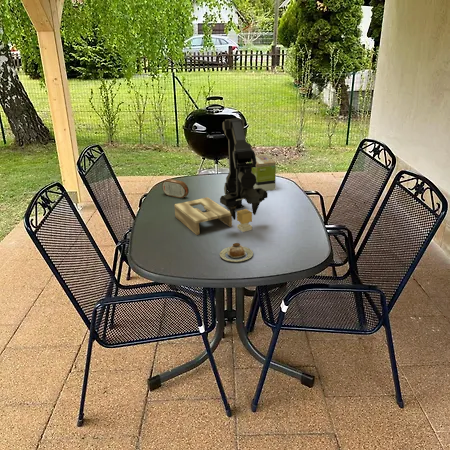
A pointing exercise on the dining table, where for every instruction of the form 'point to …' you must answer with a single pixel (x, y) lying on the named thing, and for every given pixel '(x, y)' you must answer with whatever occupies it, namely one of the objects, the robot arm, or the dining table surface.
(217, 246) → the dining table surface
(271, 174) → the tea box
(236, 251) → the pastry
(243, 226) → the mustard yellow block
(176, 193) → the tin
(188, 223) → the keyhole board
